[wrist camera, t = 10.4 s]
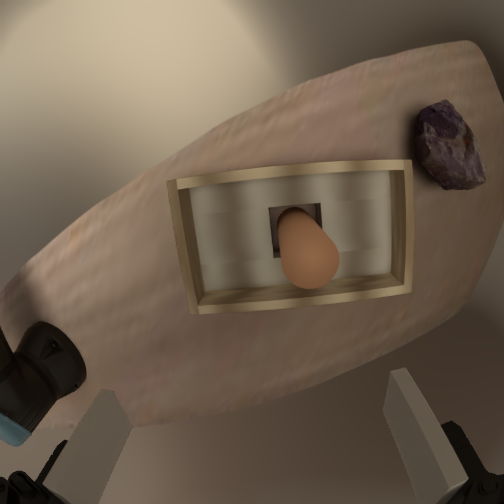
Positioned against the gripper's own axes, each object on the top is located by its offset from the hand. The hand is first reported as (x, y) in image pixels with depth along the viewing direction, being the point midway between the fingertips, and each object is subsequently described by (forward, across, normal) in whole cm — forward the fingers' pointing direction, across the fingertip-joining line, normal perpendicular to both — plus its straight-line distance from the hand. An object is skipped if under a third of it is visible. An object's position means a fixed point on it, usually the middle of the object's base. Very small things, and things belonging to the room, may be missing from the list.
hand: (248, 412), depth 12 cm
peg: (+25, +5, +3) cm, 26 cm away
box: (+25, +5, +3) cm, 26 cm away
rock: (+25, +25, +11) cm, 37 cm away
